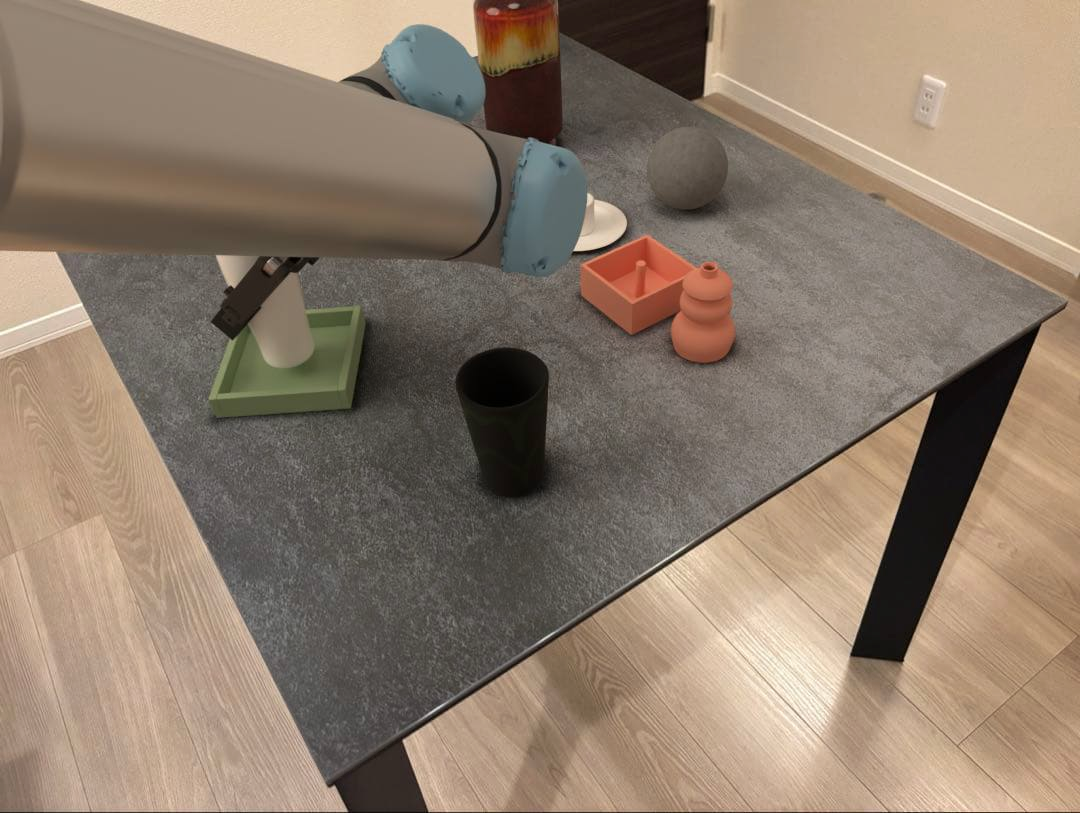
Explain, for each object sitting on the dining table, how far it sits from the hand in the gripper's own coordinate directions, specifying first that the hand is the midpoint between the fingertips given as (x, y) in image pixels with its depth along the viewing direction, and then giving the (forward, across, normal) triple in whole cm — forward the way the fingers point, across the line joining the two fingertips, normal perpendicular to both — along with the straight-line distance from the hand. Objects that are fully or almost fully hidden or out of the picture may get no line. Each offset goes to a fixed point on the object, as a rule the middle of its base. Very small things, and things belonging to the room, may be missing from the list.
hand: (246, 306), depth 84 cm
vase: (-1, +53, -11) cm, 54 cm away
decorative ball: (-19, +43, -30) cm, 56 cm away
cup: (-17, -6, -28) cm, 33 cm away
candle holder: (-11, +34, -22) cm, 42 cm away
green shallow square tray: (+3, 0, -8) cm, 8 cm away
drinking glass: (+2, 0, -6) cm, 7 cm away
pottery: (-22, +20, -33) cm, 44 cm away
